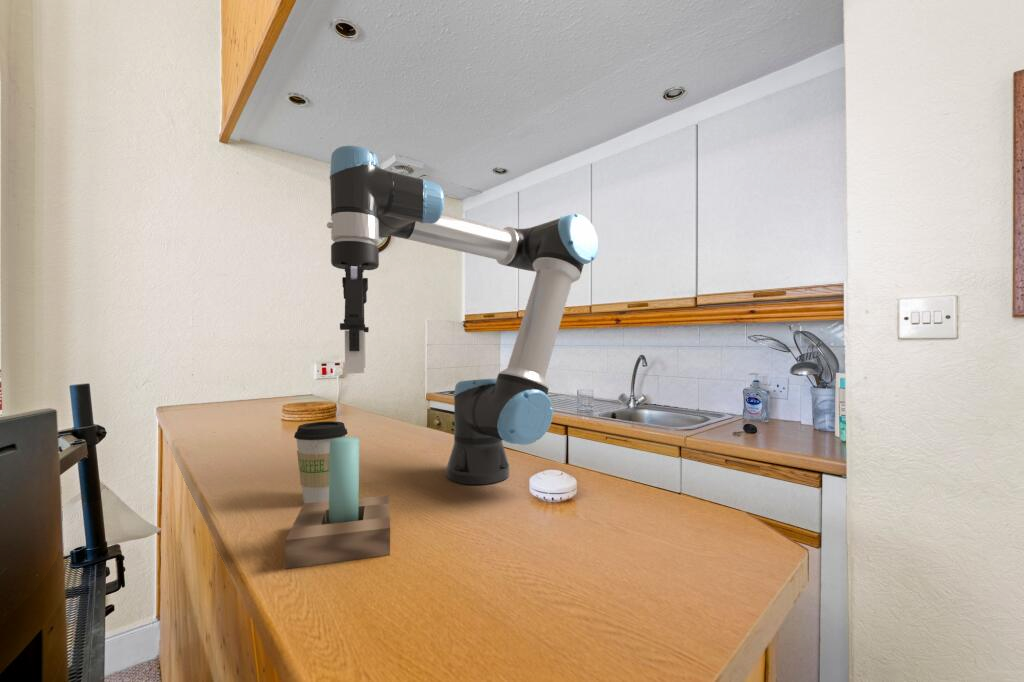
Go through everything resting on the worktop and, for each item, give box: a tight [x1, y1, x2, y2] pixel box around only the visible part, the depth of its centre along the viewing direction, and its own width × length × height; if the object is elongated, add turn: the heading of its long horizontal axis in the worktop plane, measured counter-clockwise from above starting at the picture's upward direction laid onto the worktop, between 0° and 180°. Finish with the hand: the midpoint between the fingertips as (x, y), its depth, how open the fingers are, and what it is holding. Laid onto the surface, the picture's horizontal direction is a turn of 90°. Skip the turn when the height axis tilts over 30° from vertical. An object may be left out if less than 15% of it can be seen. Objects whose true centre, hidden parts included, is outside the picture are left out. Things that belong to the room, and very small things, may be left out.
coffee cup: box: [293, 420, 348, 504], centre depth 84 cm, size 10×10×15 cm
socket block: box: [284, 495, 391, 570], centre depth 67 cm, size 14×14×4 cm
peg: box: [329, 436, 360, 524], centre depth 67 cm, size 4×4×16 cm
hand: (356, 370), depth 70 cm, fingers open, 13 cm apart
